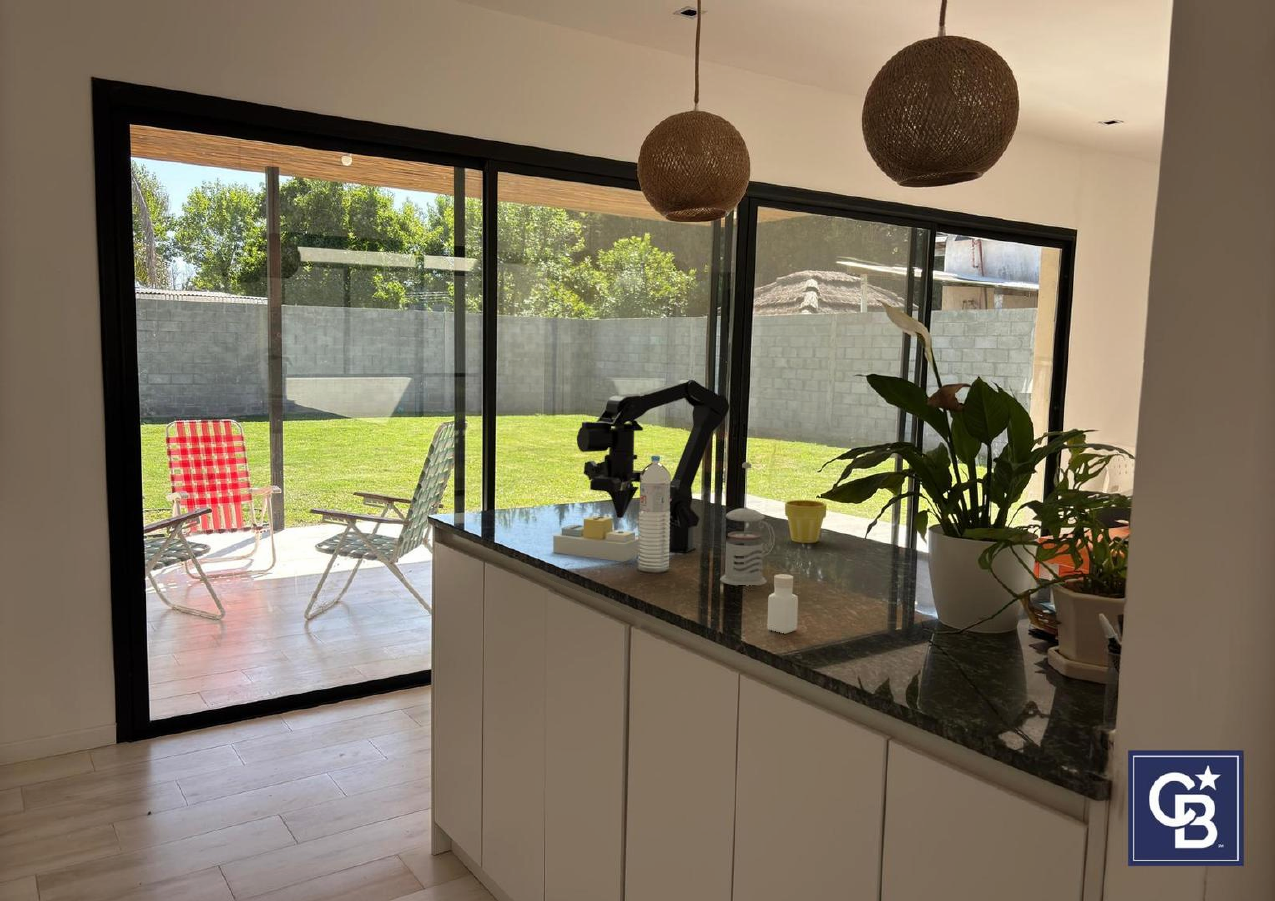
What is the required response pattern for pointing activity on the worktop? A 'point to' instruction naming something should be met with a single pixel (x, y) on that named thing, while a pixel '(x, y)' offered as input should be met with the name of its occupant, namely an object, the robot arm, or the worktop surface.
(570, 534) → the slate tile
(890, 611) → the worktop surface
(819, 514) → the plant pot
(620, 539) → the cream tile
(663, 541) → the water bottle
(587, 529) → the mustard tile
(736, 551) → the french press
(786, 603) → the white pill bottle
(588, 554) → the panel
